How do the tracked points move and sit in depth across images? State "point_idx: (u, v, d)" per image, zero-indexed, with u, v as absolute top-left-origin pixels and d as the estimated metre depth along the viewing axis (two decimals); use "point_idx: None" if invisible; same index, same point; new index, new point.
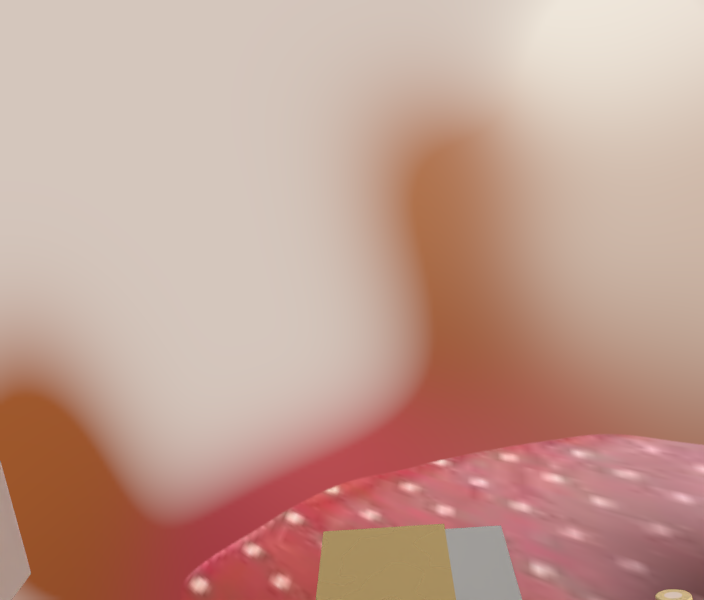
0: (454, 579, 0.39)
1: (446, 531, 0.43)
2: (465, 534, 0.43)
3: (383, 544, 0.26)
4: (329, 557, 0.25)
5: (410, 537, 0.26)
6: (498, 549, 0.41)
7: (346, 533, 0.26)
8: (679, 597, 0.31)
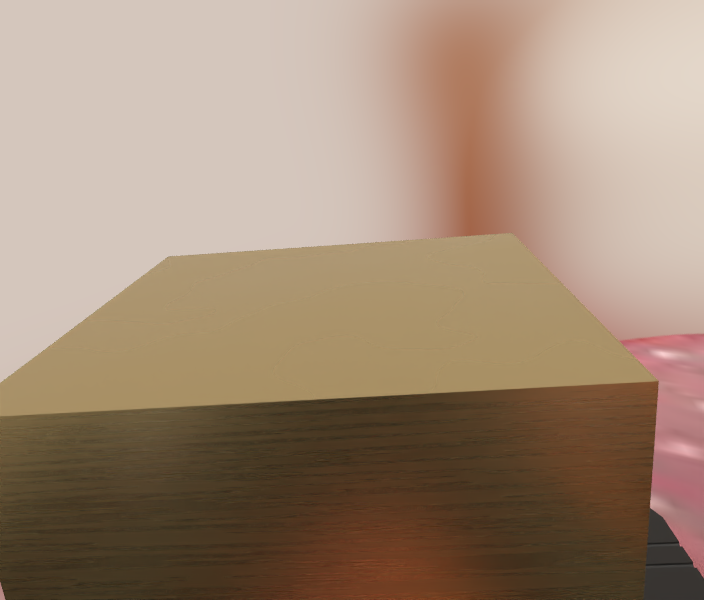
0: None
1: None
2: None
3: (331, 262, 0.08)
4: (155, 285, 0.08)
5: (414, 251, 0.09)
6: None
7: (229, 255, 0.09)
8: None
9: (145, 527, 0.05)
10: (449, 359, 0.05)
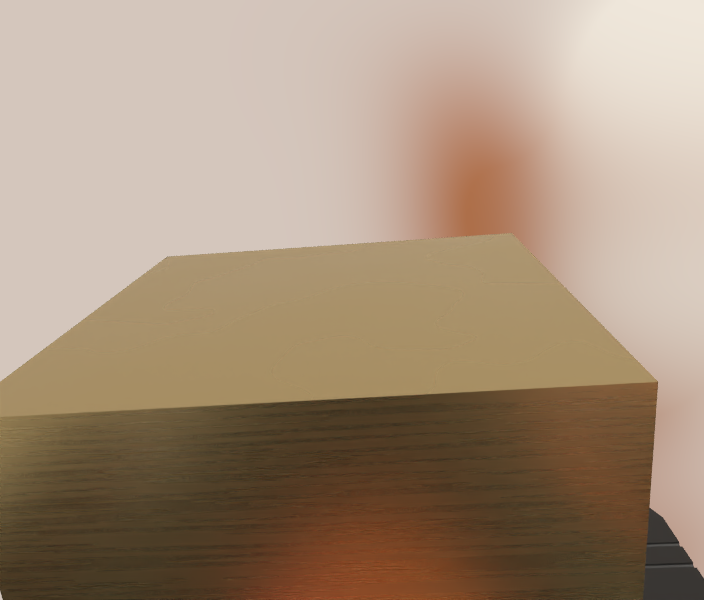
0: None
1: None
2: None
3: (331, 262, 0.08)
4: (154, 285, 0.08)
5: (414, 251, 0.09)
6: None
7: (229, 255, 0.09)
8: None
9: (143, 528, 0.05)
10: (448, 360, 0.05)
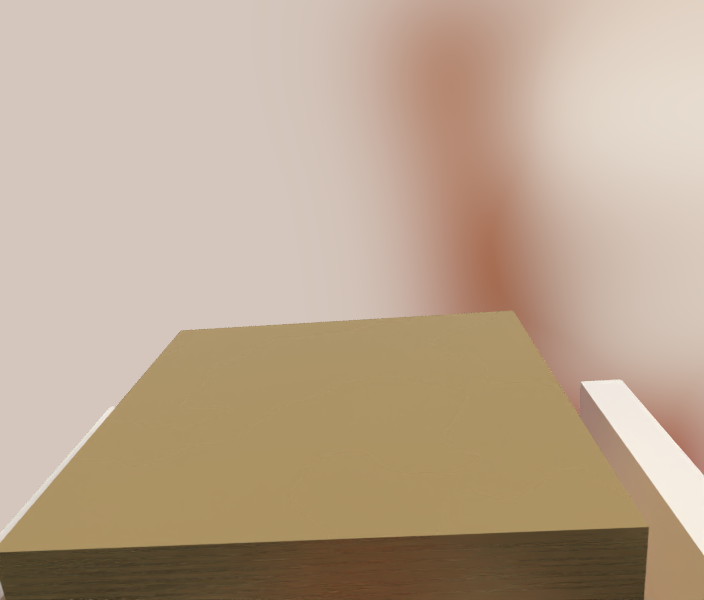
0: None
1: None
2: None
3: (340, 346, 0.09)
4: (171, 371, 0.08)
5: (419, 333, 0.09)
6: None
7: (240, 331, 0.10)
8: None
9: None
10: (455, 489, 0.05)
